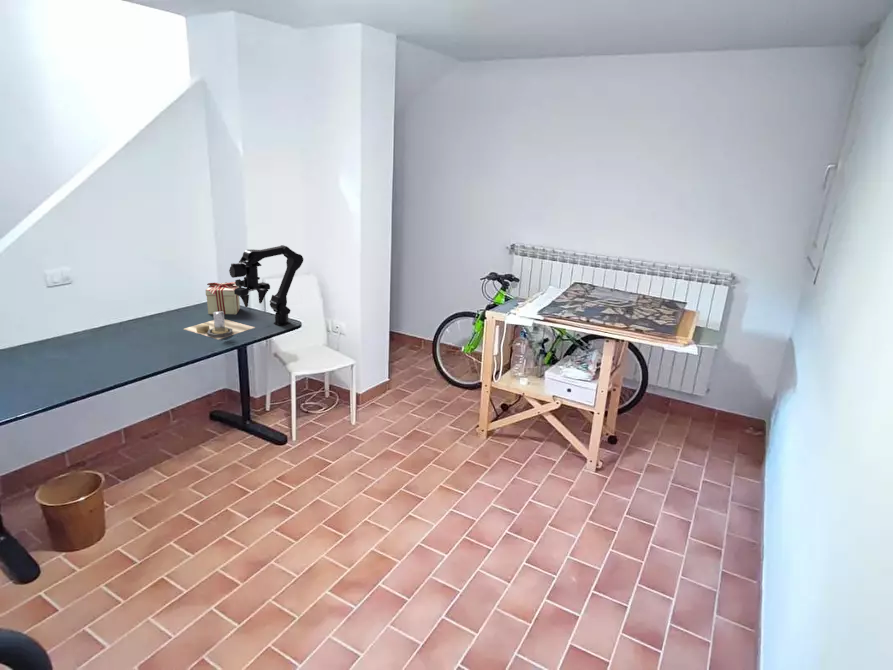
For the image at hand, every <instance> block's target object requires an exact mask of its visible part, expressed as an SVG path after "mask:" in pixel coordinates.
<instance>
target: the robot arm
mask: <svg viewBox="0 0 893 670" xmlns="http://www.w3.org/2000/svg"><path fill="white" fill-rule="evenodd" d="M280 255H283V257H285V258H286V262H285V263H286V270H285V272H284V275H283V277H282V280H281V283H280V286H279V288H278V290H277V293H276V294H275V295H274V294H272V295H271V298H270V300H269V306H270V308H271V309H272V310H273V312H274V315H275V316H274V322H273V324H274V325H278V326H281V327H282V326H287V325H289V324H291V321H289V314H290V313H291V309H290V308H289V307H288V306H287V304H288V297H287V296H288V293H289V290H290V288H291V285H292V282H293V280H294V277H295V276H296V272H297V271H298V270H299V269H300V268H301V267H302V265H303V263H304V257H303V255H302V254H300V253H297V252H295V251H293V250H292V249H290V247H289V246H287V245H284V244H283V245H278V246H275V247H274V246H273V247H269V248H264V249H263V248H262V249H246V250H244V252H243V253H242V256H241V257H240V260H239V261H238V263H233V262H232V263H231V264H230V267H229V270H228V272H229V275H230V277H231V278H239V279H235V281H234V282H235V284H236V286H239V288H236V289H235V290H234V294H237V295H238V296H239V298H241V300H242V302H243V303H242V304H244V306H245V308H248V307H249V299H250V294H249V293H250V292H252V291H253V292H254V291H257V294H258V296H257V297H258V303H259V304H262V303H263V300H264V298H265V297H266V295H267V293H268V292H269V290H270V289H271V285H270V283H268V282H259V280H260V279H261V277H259V272H258V269H259V268H258V267H261V266H262V264H261V263H260V261H262V260H263V259H266V258H270V257H277V256H280ZM240 277H241V278H242V277H243V280H241V279H240Z"/></svg>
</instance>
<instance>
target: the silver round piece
mask: <svg viewBox="0 0 893 670" xmlns="http://www.w3.org/2000/svg"><path fill="white" fill-rule="evenodd" d="M212 315H213V320H214V327H215V329H212V333H213V334H224V333H227V332H228V328H225V321H224V319H225V314H224V312H223V311H216V312H213V314H212Z"/></svg>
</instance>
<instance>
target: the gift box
mask: <svg viewBox="0 0 893 670" xmlns="http://www.w3.org/2000/svg"><path fill="white" fill-rule="evenodd" d="M207 286H208V287H207V288H206V289H205V296H206V302H207V304H206V305H207V315H213V312H216V311H223V312H224V315H235V316H236V315H237V314H238V313H239V311H240V309H241V303H240V296H238V295H237V294H234V290H235V289H236V288H239V286H236V284H235V281H231V282H209V283H207Z"/></svg>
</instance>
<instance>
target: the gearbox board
mask: <svg viewBox="0 0 893 670" xmlns="http://www.w3.org/2000/svg"><path fill="white" fill-rule="evenodd" d="M224 321H225V328H228V332H227V333H224V334H213V333H212V329H215V327H214V319H212V320H209V321H205V322H202V323H198V324H195V325H192V326H188V327H185V328H184V330H185V331H188V332H192V333H195V334H197V335H198V334H199V335H202V336H206V337H209V338H213V339H214V340H219V341H220V342H221V341H223V340H226V339H228V337H229V339H230V338H233V337H237V336H238V335H239V336H240V335H242V334H244V333H248V332H249V331H250V332H251V331H253V330H255V328H256V326H251V325H248V324H244V323H240V322H236V321H233V320H229V319H225V318H224ZM252 329H253V330H252ZM246 331H247V332H246ZM243 332H244V333H243ZM237 334H238V335H237ZM233 335H236V336H233ZM231 336H233V337H231Z"/></svg>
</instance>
